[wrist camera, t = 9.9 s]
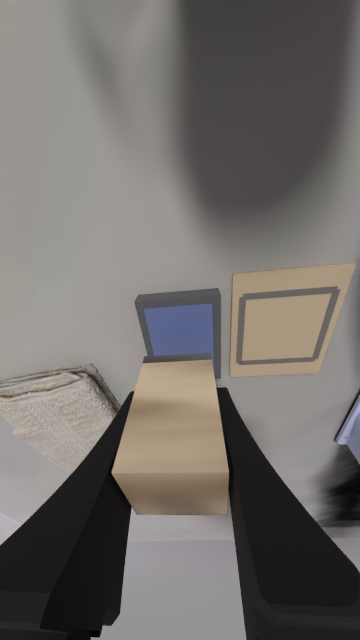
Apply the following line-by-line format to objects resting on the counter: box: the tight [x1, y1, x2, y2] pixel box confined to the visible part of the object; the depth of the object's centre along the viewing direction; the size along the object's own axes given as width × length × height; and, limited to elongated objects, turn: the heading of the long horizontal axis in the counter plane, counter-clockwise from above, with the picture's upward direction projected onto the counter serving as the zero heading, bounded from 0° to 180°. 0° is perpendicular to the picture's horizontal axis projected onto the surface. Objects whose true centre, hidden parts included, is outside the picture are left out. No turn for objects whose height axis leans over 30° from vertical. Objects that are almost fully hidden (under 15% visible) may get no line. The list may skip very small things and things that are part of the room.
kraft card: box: [229, 263, 356, 377], centre depth 16 cm, size 10×8×1 cm
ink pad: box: [135, 288, 221, 378], centre depth 16 cm, size 8×6×2 cm
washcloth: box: [0, 363, 121, 475], centre depth 23 cm, size 12×18×3 cm, turn 18°
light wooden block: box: [112, 353, 229, 515], centre depth 10 cm, size 4×4×6 cm
